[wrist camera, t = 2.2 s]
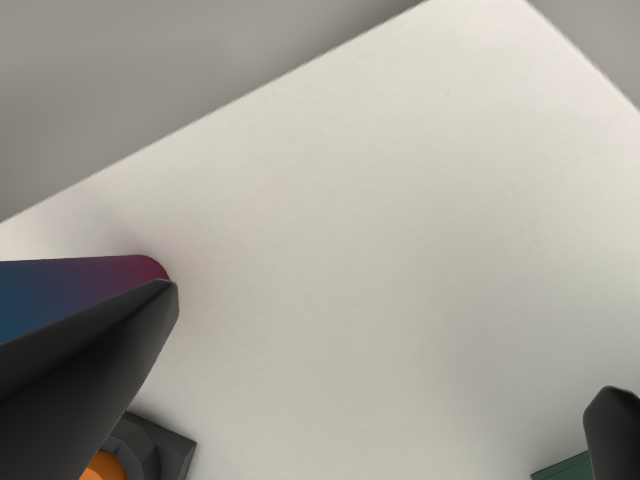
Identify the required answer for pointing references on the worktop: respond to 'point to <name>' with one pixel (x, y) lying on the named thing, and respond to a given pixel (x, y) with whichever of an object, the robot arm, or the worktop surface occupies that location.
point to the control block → (149, 450)
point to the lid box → (568, 470)
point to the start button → (104, 468)
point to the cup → (65, 287)
